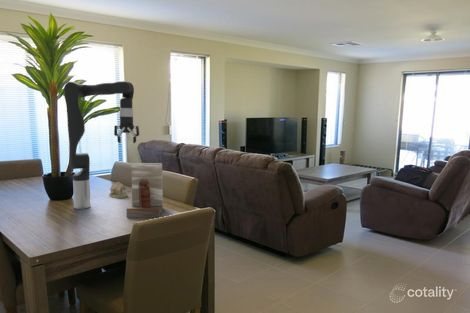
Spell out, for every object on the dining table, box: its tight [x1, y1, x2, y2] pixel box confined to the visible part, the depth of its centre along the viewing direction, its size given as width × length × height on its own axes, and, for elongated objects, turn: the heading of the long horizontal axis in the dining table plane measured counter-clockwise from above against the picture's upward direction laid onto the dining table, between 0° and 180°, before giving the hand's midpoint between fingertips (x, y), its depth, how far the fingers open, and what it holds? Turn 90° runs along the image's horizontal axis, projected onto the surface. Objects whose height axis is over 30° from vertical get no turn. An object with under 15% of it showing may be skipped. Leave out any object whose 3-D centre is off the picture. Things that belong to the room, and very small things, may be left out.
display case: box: [126, 162, 164, 218], centre depth 210 cm, size 18×18×28 cm
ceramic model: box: [108, 181, 129, 199], centre depth 250 cm, size 14×11×10 cm
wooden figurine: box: [139, 179, 151, 208], centre depth 211 cm, size 12×6×18 cm, turn 21°
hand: (127, 142), depth 217 cm, fingers open, 8 cm apart
